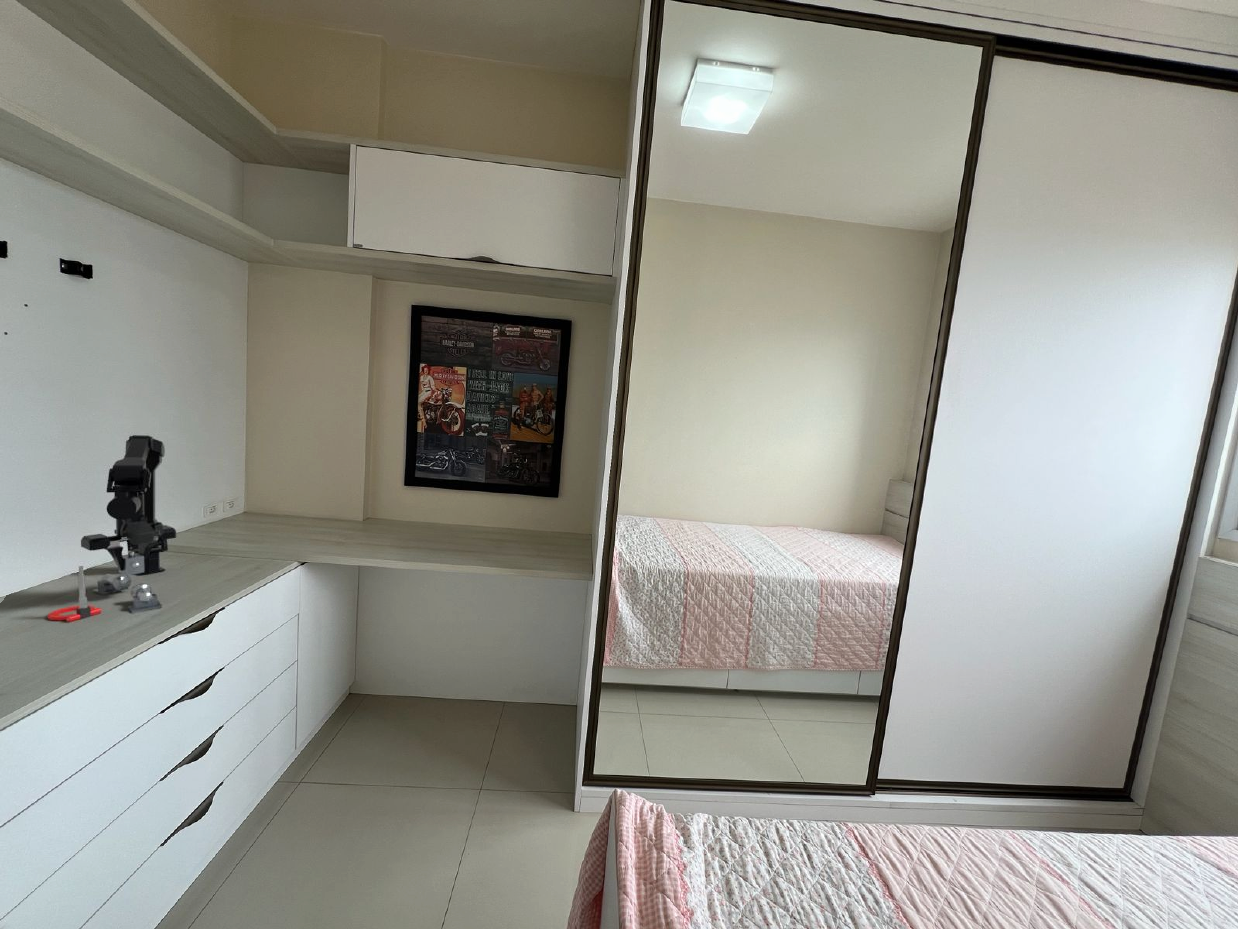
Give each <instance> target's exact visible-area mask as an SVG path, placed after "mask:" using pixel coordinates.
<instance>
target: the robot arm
mask: <svg viewBox="0 0 1238 929" xmlns="http://www.w3.org/2000/svg"><path fill="white" fill-rule="evenodd" d="M165 450H166V448H165V444H164V442H163V441H161V440H158V439H155V438H154V437H153V436H152V435H151V436H150V435H143V434H141V435H138V434H137V435H135V434H132V435H129V437H128V439H127V440H126V441H125V452H124V453H125V454H124V457H123V458H122V459H119V460H116V461H115V462H114V464H113V465H112V467H111V468H109V471H108V476H107V485H106V493H113V494H114V495H113V496H114V497H113V498H112V499H111V500H110V501H109V502H108V503H107V505H106V512H107V514H108V515H109V517H111V518H113V519H115V529H114V531H113V532H114V534H115V535H109V536H107V535H105V534H102V533H96V534H90V535H89V534H87V535H83V536H82V538H81V539H80V547H81V548H84V549H85V550H87V551H90V552H91V551H94V552H95V551H100V550H106V551H107V552H108V554H110V556H111V558H112V559H113V561H114V562H115V565H116V566H117V568H118V571H119V570H121V571H123V557H122V555H123V550H124V547H123V546H122V545H121V544H120V543H123V542H126V547H127V552H128V551H135V553H138V554H141V555H143V556H144V572H143V573H137V574H136V575H138V576H144V575H149V574H155V573H161V572H165V571H166V569H165V568H164V567H163V566H161V558H160V557H161V556H160V555H161V554H160V553H165V552H168V551H169V544H168V540H172V539H176V538H177V530H176V529H175V528H174V527H171V526H170V525H167V524H163V523H162V522H161V521H158V519H156V471H157V469H158V468H159V467H160V465H161V463H163V458H165V453H166V452H165Z"/></svg>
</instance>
